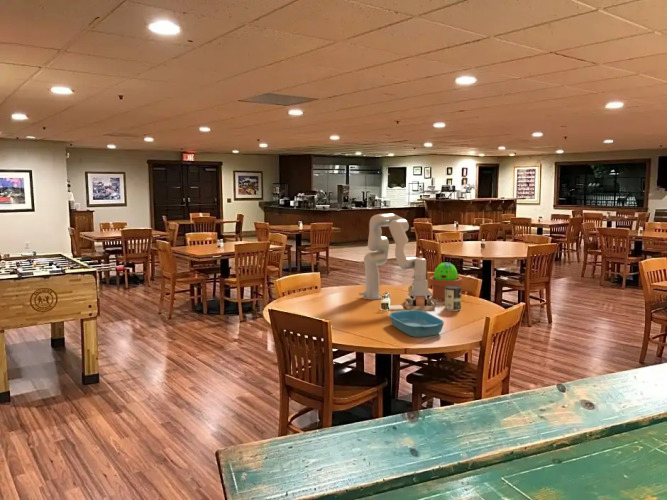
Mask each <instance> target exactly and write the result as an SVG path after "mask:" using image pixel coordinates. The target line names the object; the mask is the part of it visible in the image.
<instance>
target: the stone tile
mask: <svg viewBox="0 0 667 500" xmlns="http://www.w3.org/2000/svg"><path fill="white" fill-rule="evenodd" d="M389 305H390V304H389ZM402 310H404V307H403V305H401V304H394V305H393V304H392V305H390V307H389V309H388V311H402Z"/></svg>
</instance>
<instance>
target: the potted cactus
mask: <svg viewBox="0 0 667 500" xmlns="http://www.w3.org/2000/svg"><path fill="white" fill-rule="evenodd" d="M428 280H429V281H428V284H429V285H432V298H433V299H436V300H441V301H445V286H450V285H454V286H461V285H463V278H462V277H461V276H459V274H458V270H457V268H456V266H455V265H454V264H453V263H451V262H440V263H439V264H438V265H437V266H436V267H435V269H434V271H433V275H432V276H430V277H429V279H428Z"/></svg>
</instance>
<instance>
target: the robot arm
mask: <svg viewBox="0 0 667 500" xmlns="http://www.w3.org/2000/svg"><path fill="white" fill-rule="evenodd" d="M382 227H388V229H389V231H390V234H391V236H392V239H393V241H394V244H395V250H394V254H395V255H394V256H395V259H396V262H397V264H398V265H399V268H400V269H401V270H410V269H413V275H412V276H411V278H412V283H411V286H412V290H411V291H410V292H408V293H407V296H409V298H410V297H411V298H412V299H413V305H414V306H416V300H415V296H425V306H426V305H427V300H428V298H431V296H433V292H431V290H430V289H429V281H428V279H427V259H426V258H423V257H417V256H406V255H405V252H404V248H405V246H406V244H408V243H409V238H408V235H407V233H406V232H407V231H408V230H409V229H410V225H409V222H408V220H407V219H405V218H403V217H401V216H399V215H397V214H395V213H392V212H391V213H390V212H389V213H378V214H373V216H371V217H370V220H369V231H368V233H369V234H368V239H367V240H368V241H367V248H368V250H369V251H371V252H368V253H366V254H365V255H364V257H363V263H364V268H365V269H364V270H365V274H364V275H365V290H364V291H361V292H360V291H359V292H358V295H359V296H363V299H364V300H374V301H375V300H380V299H382V298H381V297H382V295H381V294H380V269H379V268H378V266H381V265H385V264H386V263H387V261H388V258H389V257H388V256H389V251H390V250H389V249H390V242H389V239H388V237H387V236H384V235H382V234H383V230H382ZM411 293H412V294H413V296H412V295H411Z"/></svg>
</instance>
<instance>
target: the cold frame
mask: <svg viewBox="0 0 667 500" xmlns="http://www.w3.org/2000/svg"><path fill="white" fill-rule="evenodd" d="M404 304H405V305H404V307H405V308H406V310H420V311H435V310H436V304H435V303H434V302H433V301H432V297H429V298H428V300H427V305H426V306H414V305H413V299H412V298H410V297H409V298H405V299H404Z"/></svg>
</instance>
